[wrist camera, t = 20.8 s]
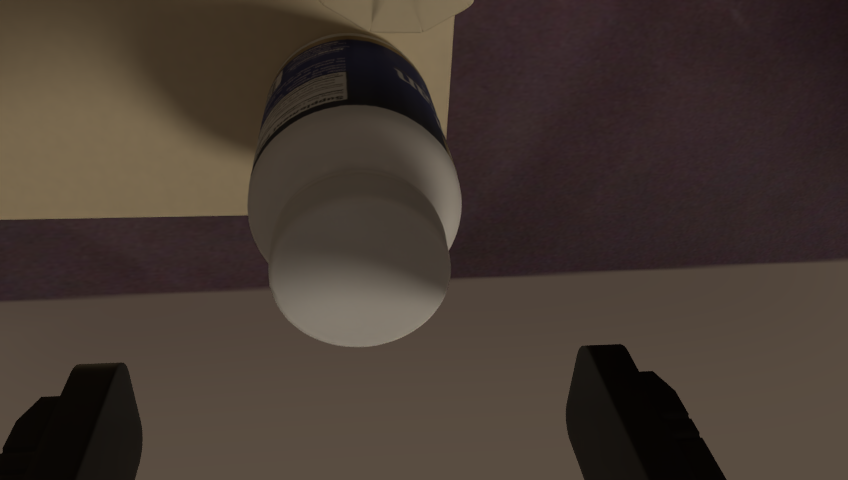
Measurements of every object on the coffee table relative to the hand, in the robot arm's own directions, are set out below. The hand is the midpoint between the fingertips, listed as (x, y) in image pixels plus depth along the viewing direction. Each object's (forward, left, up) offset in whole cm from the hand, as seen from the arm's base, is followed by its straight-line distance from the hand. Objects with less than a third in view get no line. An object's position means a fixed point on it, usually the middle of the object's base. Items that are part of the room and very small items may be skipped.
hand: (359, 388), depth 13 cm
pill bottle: (0, 0, -13) cm, 13 cm away
